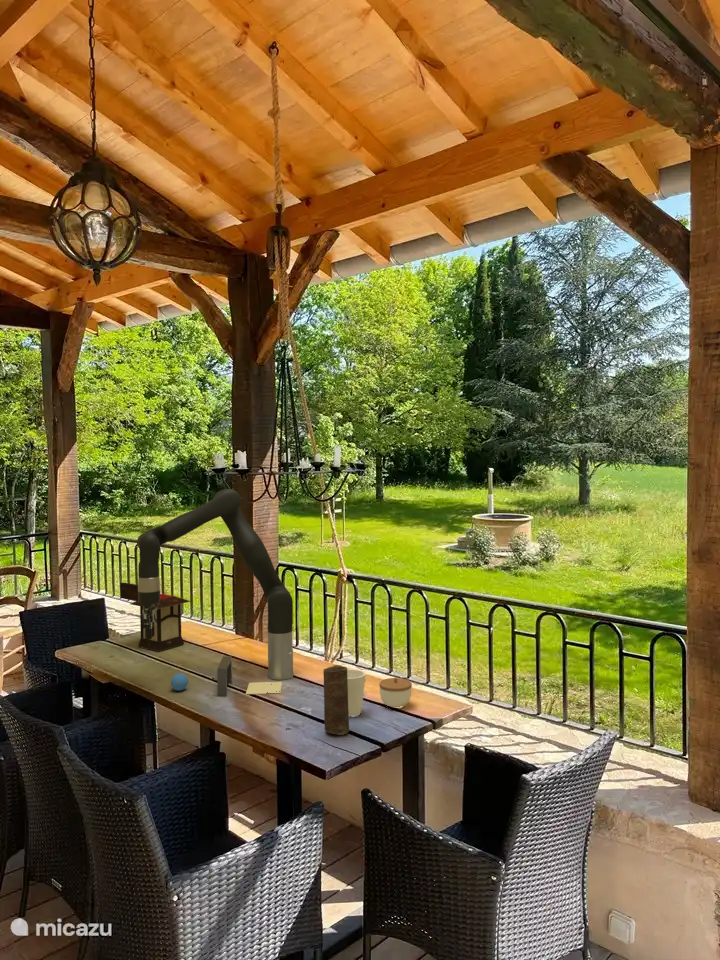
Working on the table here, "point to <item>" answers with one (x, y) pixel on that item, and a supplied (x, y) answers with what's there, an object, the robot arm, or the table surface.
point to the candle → (336, 700)
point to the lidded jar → (395, 691)
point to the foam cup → (355, 690)
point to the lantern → (159, 619)
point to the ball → (179, 682)
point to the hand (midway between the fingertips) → (150, 637)
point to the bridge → (224, 675)
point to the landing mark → (264, 687)
